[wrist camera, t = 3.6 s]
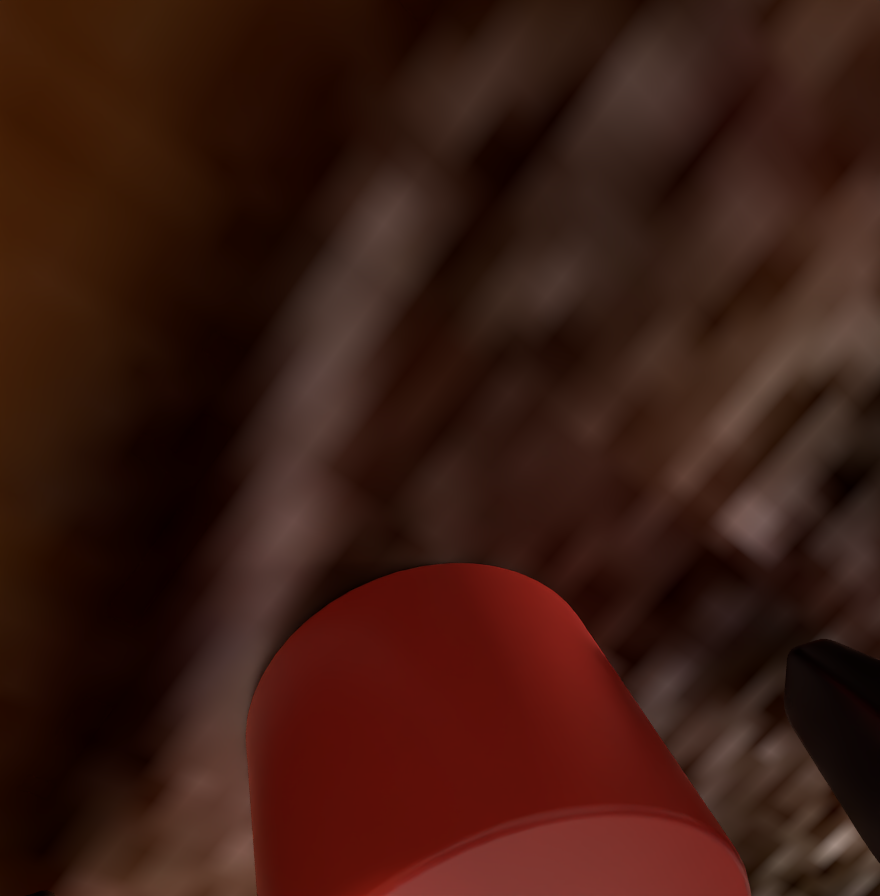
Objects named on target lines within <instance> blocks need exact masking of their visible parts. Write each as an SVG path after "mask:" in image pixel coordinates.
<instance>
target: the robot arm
mask: <svg viewBox="0 0 880 896" xmlns="http://www.w3.org/2000/svg"><path fill="white" fill-rule="evenodd" d="M784 706H785V712H786V715H787V718H788V720H789V722H790V724H791V726H792V727H793V729H794V731H795V732H796V734H797V735H798V737H799V739H800V740H801V742H802V743H803V745H804V747H805V748H806V750H807V751H808V753H809V755H810V756H811V758H812V759H813V761H814V763H815V764H816V766H817V767H818V769H819V771H820V772H821V774H822V775H823V777H824V778H825V780H826V782H827V783H828V785H829V786H830V788H831V790H832V791H833V793H834V794H835V796H836V798H837V799H838V801H839V802H840V804H841V806H842V807H843V809H844V810H845V812H846V814H847V815H848V817H849V818H850V820H851V821H852V823H853V825H854V826H855V828H856V829H857V831H858V833H859V834H860V836H861V837H862V839H863V840H864V842H865V843H866V845H867V846H868V848H869V849H870V851H871V852H872V854H873V855H874V856H875V858H876V859H877V860H878V862H879V863H880V660H878V659H875V658H873V657H871V656H868V655H866V654H864V653H861V652H859V651H856V650H854V649H852V648H849V647H847V646H845V645H842V644H840V643H837V642H835V641H832V640H828V639H820V640H816V641H813V642H809V643H806V644H803V645H800V646H797V647H795V648H793V649H792V650H791V651H790V653H789V654H788V658H787V669H786V681H785V694H784ZM26 896H55V894H54V893H52V892H51V891H48V890H44V891H39V892H36V893H33V894H30V895H26Z"/></svg>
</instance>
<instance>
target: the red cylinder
mask: <svg viewBox="0 0 880 896" xmlns="http://www.w3.org/2000/svg"><path fill="white" fill-rule="evenodd" d="M246 748H247V762H248V776H249V790H250V803H251V817H252V831H253V845H254V858H255V872H256V886H257V896H751V890H750V885H749V881H748V877H747V873H746V869H745V865H744V863H743V862H742V860H741V858H740V856H739V854H738V852H737V850H736V848H735V847H734V845H733V844H732V842H731V841H730V840H729V838H728V837H727V835H726V834H725V832H724V831H723V829H722V828H721V826H720V825H719V823H718V822H717V820H716V819H715V817H714V816H713V814H712V813H711V811H710V810H709V809H708V807H707V806H706V804H705V803H704V801H703V800H702V798H701V797H700V795H699V794H698V792H697V791H696V789H695V788H694V786H693V785H692V783H691V782H690V781H689V779H688V778H687V776H686V775H685V773H684V772H683V770H682V769H681V767H680V766H679V764H678V763H677V761H676V760H675V758H674V757H673V755H672V754H671V753H670V751H669V750H668V748H667V747H666V745H665V744H664V742H663V741H662V739H661V738H660V736H659V735H658V733H657V732H656V730H655V729H654V727H653V726H652V724H651V723H650V722H649V720H648V719H647V717H646V716H645V714H644V713H643V711H642V710H641V708H640V707H639V705H638V704H637V702H636V701H635V699H634V698H633V696H632V695H631V694H630V692H629V691H628V689H627V688H626V686H625V685H624V683H623V682H622V680H621V679H620V677H619V676H618V674H617V673H616V671H615V670H614V668H613V667H612V665H611V664H610V663H609V661H608V660H607V658H606V657H605V655H604V654H603V652H602V651H601V649H600V648H599V646H598V645H597V643H596V642H595V640H594V639H593V637H592V636H591V635H590V633H589V632H588V630H587V629H586V627H585V626H584V624H583V623H582V621H581V620H580V618H579V617H578V616H577V614H576V613H575V612H574V611H573V609H572V608H571V607H570V606H569V604H568V603H567V602H566V601H564V600H563V599H562V598H561V597H560V596H559V595H558V594H556V593H555V592H554V591H553V590H551V589H550V588H548V587H546V586H545V585H543V584H542V583H540V582H538V581H537V580H534V579H532V578H530V577H527V576H525V575H522V574H520V573H518V572H515V571H511V570H508V569H504V568H500V567H496V566H491V565H483V564H475V563H443V564H434V565H425V566H420V567H416V568H411V569H407V570H402V571H398V572H395V573H392V574H389V575H386V576H383V577H380V578H377V579H375V580H372V581H370V582H368V583H366V584H364V585H361V586H359V587H357V588H355V589H353V590H351V591H349V592H347V593H346V594H344V595H342V596H341V597H339V598H337V599H336V600H334V601H332V602H331V603H329V604H328V605H326V606H325V607H324V608H322V609H321V610H320V611H318V612H317V613H316V614H314V615H313V616H312V617H310V618H309V619H308V620H307V621H306V622H305V623H304V624H303V625H302V626H301V627H300V628H299V629H297V630H296V631H295V632H294V633H293V634H292V635H291V636H290V637H289V639H288V640H287V641H286V642H285V643H284V645H283V646H282V647H281V648H280V650H279V651H278V652H277V653H276V654H275V656H274V658H273V659H272V661H271V662H270V664H269V666H268V667H267V669H266V670H265V672H264V674H263V675H262V677H261V680H260V682H259V684H258V686H257V689H256V691H255V693H254V695H253V698H252V702H251V706H250V709H249V713H248V717H247V727H246Z"/></svg>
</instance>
